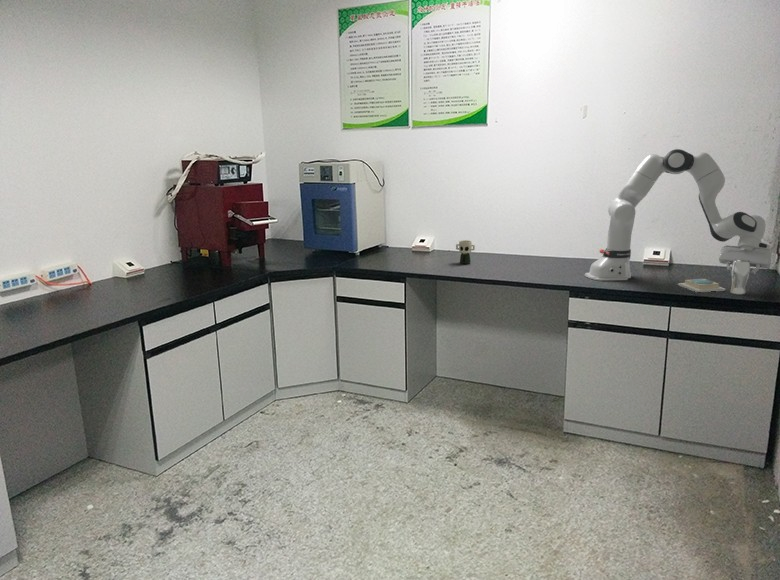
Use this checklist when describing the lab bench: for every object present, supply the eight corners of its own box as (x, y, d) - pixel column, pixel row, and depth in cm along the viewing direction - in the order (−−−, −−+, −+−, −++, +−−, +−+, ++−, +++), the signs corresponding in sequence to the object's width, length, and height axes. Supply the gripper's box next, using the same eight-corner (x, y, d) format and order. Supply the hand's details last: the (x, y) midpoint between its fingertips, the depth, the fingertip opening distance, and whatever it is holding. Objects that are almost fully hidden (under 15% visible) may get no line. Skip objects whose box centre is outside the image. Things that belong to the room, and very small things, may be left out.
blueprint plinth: (697, 292, 260) (698, 285, 259) (677, 285, 273) (678, 278, 272) (725, 290, 262) (726, 284, 261) (704, 283, 275) (705, 277, 274)
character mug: (454, 264, 329) (454, 242, 326) (457, 261, 336) (457, 239, 332) (473, 265, 326) (473, 242, 322) (475, 262, 332) (476, 240, 329)
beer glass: (742, 295, 253) (746, 262, 249) (725, 292, 259) (730, 260, 255) (749, 293, 257) (754, 260, 253) (733, 290, 263) (737, 258, 259)
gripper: (722, 241, 265) (714, 265, 260) (774, 245, 252) (766, 271, 247) (723, 249, 269) (715, 273, 265) (774, 254, 256) (767, 279, 252)
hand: (740, 272), depth 256 cm, fingers open, 8 cm apart
